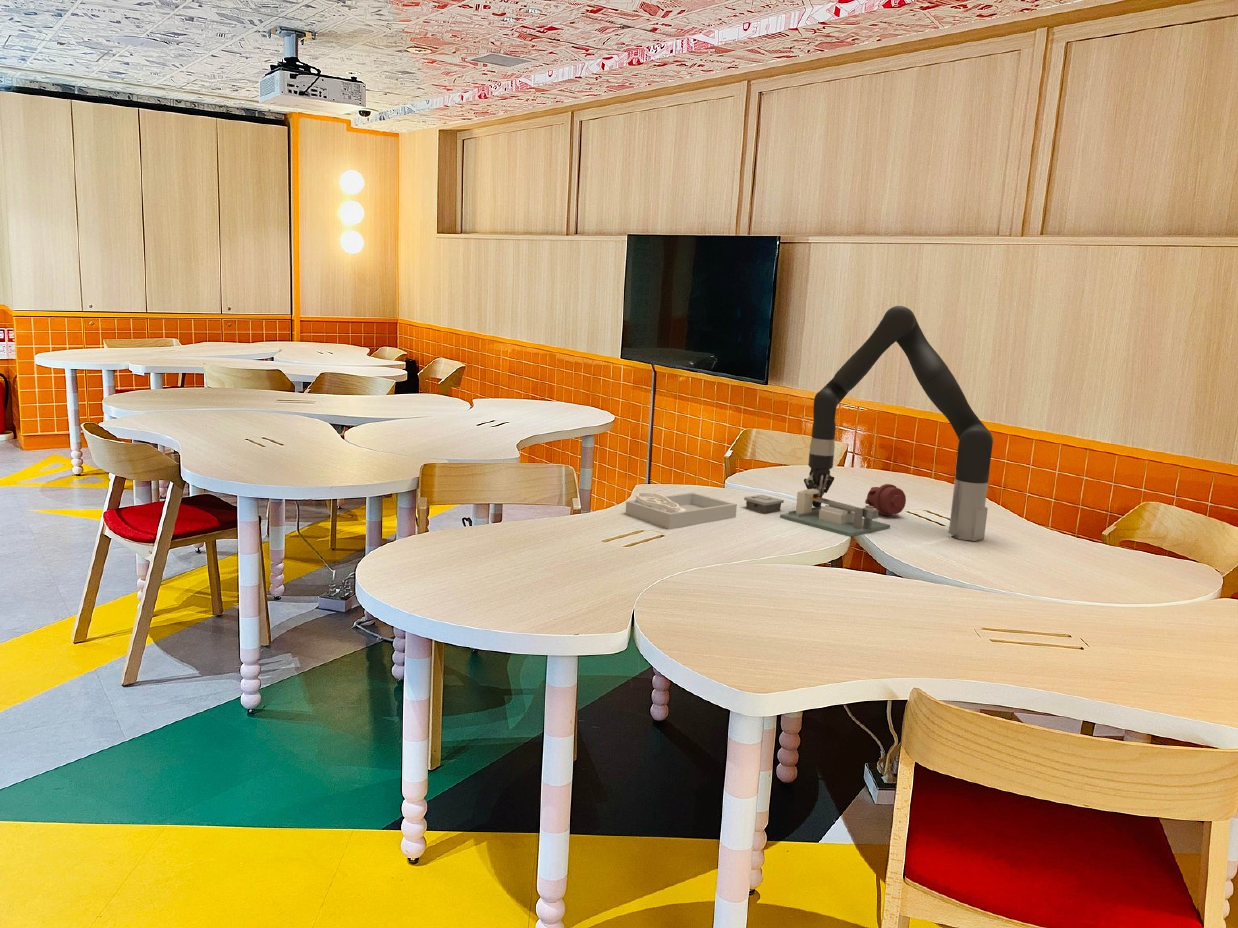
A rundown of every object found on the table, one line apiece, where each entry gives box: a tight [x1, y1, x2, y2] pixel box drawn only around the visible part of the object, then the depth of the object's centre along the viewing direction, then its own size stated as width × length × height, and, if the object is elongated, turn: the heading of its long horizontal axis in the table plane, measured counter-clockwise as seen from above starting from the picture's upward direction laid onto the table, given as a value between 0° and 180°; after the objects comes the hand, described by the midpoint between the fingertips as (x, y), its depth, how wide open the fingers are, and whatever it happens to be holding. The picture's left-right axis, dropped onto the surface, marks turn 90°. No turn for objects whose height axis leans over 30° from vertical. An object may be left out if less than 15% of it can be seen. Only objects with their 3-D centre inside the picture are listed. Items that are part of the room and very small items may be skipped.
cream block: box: [795, 488, 819, 514], centre depth 289 cm, size 5×4×8 cm
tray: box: [625, 492, 738, 530], centre depth 282 cm, size 19×28×4 cm
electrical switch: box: [743, 494, 784, 514], centre depth 297 cm, size 9×5×9 cm
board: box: [779, 504, 891, 537], centre depth 284 cm, size 26×20×7 cm
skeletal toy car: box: [635, 491, 686, 513], centre depth 278 cm, size 20×11×7 cm, turn 20°
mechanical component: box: [864, 483, 907, 516], centre depth 300 cm, size 12×10×10 cm
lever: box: [812, 497, 880, 520], centre depth 282 cm, size 22×3×2 cm, turn 41°
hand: (816, 506), depth 295 cm, fingers closed
